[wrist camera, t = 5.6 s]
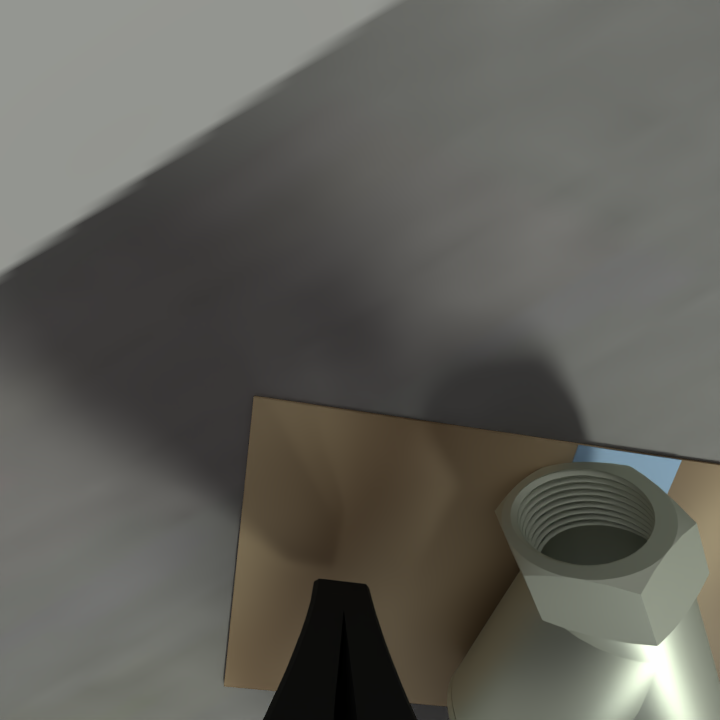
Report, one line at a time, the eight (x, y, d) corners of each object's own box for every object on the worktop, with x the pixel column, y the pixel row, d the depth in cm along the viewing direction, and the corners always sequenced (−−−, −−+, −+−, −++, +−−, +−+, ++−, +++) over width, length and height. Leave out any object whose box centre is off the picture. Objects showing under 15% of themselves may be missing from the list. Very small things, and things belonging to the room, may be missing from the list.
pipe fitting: (466, 698, 13) (668, 647, 12) (503, 884, 9) (805, 833, 8) (372, 521, 11) (603, 440, 10) (369, 664, 7) (744, 558, 6)
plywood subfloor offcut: (930, 493, 11) (943, 498, 11) (780, 730, 13) (787, 738, 13) (255, 394, 10) (253, 397, 9) (225, 679, 12) (223, 687, 12)
